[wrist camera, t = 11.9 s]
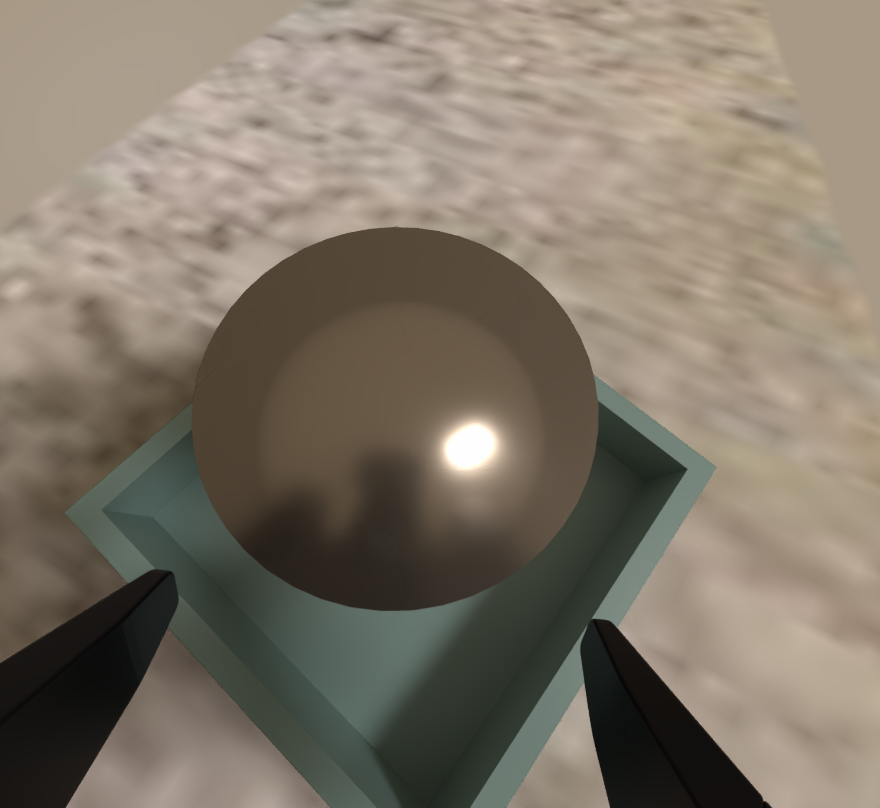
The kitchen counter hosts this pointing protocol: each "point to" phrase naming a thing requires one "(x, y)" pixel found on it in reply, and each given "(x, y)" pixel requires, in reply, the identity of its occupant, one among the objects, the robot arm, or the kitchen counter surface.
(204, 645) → the tray
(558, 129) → the kitchen counter surface
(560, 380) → the canister
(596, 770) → the kitchen counter surface
